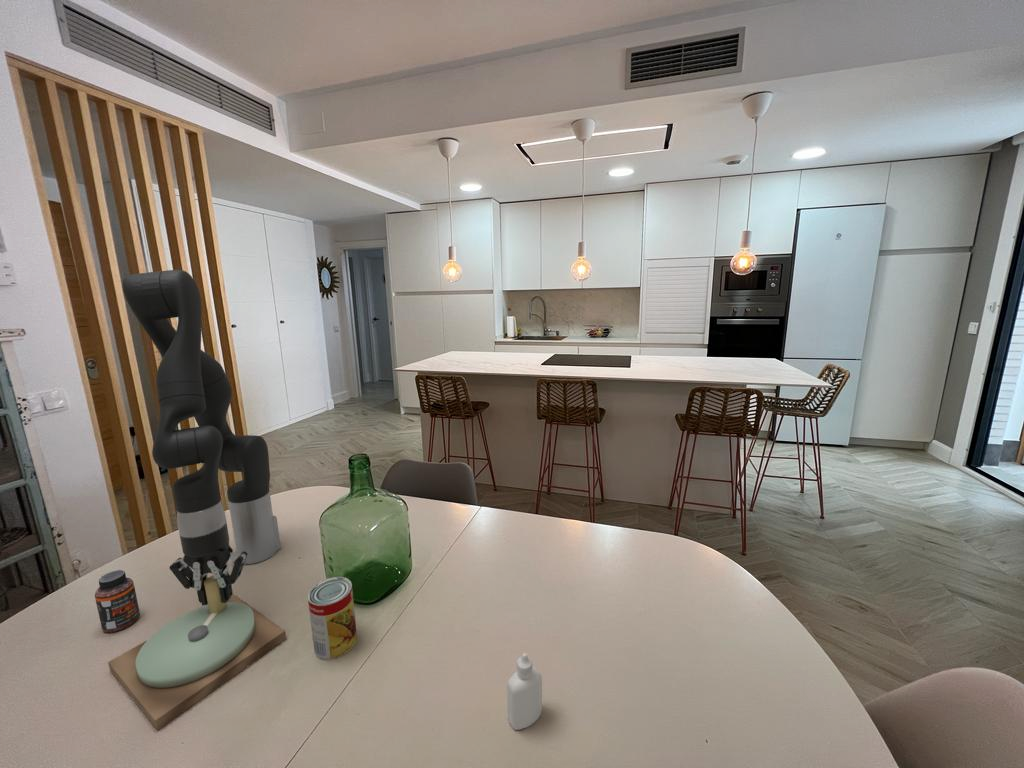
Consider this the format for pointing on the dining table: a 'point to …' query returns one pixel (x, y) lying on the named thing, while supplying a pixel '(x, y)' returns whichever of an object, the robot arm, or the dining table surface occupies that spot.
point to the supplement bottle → (116, 601)
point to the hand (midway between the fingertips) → (216, 600)
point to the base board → (177, 699)
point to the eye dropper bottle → (524, 694)
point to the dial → (196, 642)
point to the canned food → (332, 617)
